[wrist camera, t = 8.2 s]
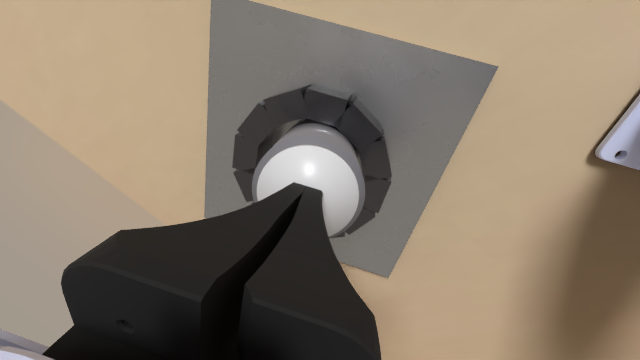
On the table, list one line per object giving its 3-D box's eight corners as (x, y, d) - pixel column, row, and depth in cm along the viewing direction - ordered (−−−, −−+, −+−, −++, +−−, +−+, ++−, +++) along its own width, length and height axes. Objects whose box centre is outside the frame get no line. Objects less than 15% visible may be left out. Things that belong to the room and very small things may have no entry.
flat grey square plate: (493, 66, 14) (521, 68, 11) (388, 272, 21) (389, 303, 18) (217, -7, 15) (182, -21, 12) (208, 213, 22) (185, 234, 20)
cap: (365, 132, 16) (384, 160, 10) (340, 200, 18) (343, 257, 12) (289, 107, 16) (263, 122, 10) (271, 180, 18) (240, 228, 12)
